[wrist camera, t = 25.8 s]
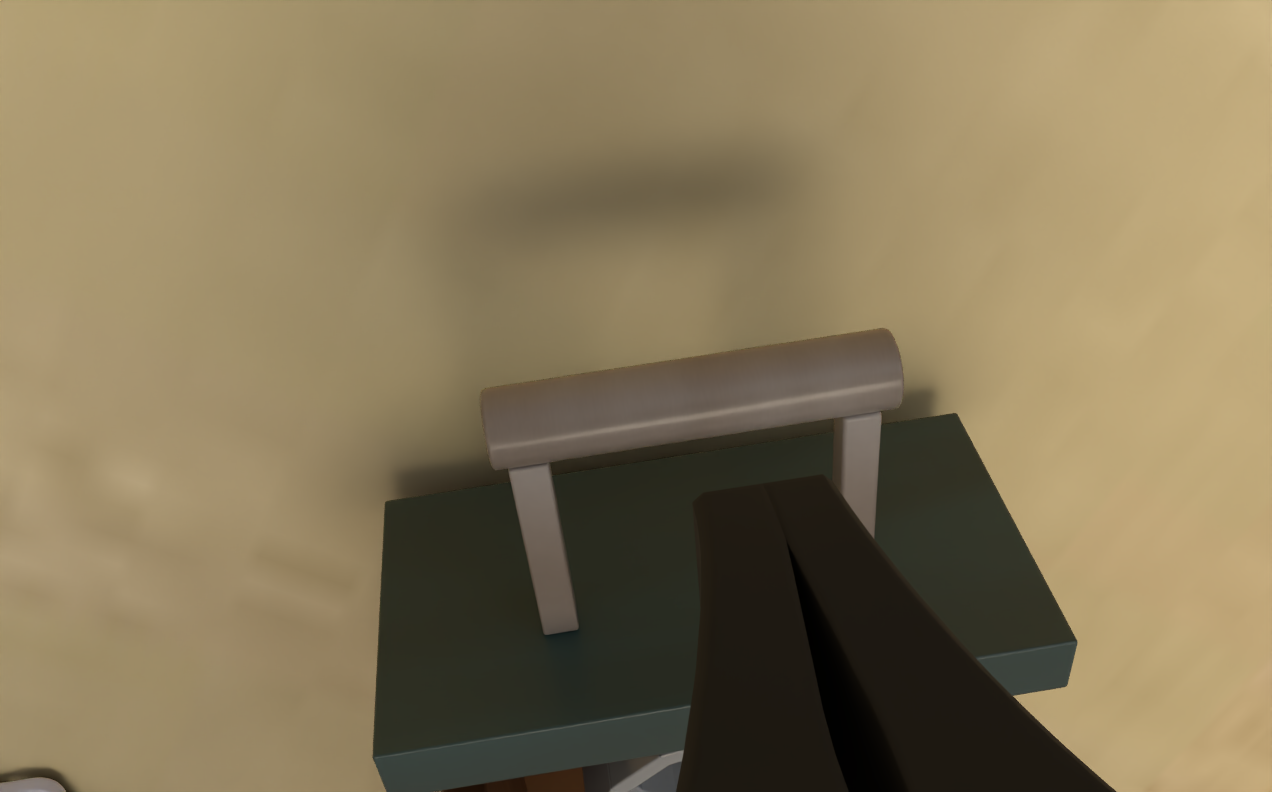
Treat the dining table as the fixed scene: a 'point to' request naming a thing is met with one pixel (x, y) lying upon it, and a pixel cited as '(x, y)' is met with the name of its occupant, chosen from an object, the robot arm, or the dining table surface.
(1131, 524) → the dining table surface
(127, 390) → the dining table surface
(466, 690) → the drawer
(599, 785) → the grey plastic pail
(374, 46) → the dining table surface
